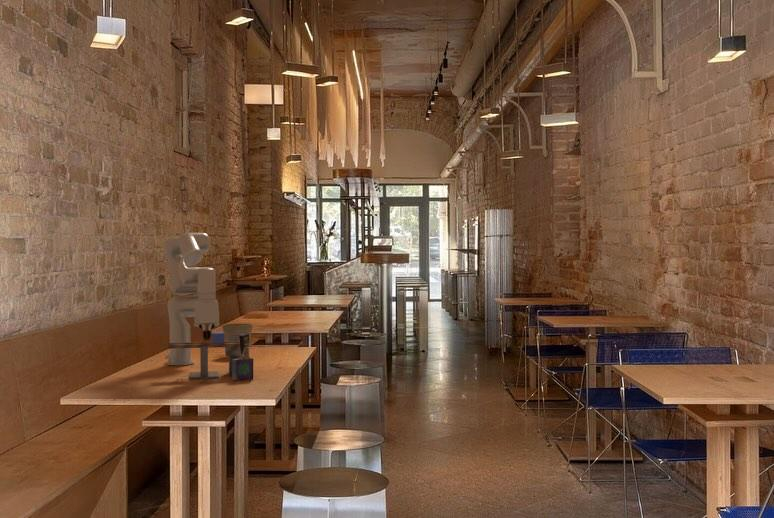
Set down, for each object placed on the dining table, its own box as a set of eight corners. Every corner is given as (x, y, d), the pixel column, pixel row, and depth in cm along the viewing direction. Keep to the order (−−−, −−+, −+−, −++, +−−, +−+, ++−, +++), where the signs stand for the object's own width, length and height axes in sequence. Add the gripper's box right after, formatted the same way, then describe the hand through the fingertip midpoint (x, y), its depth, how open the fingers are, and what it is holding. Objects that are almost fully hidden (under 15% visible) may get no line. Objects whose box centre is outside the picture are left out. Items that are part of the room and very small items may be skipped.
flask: (233, 381, 346) (233, 355, 346) (230, 380, 349) (230, 354, 348) (254, 379, 351) (254, 354, 351) (251, 378, 353) (251, 353, 353)
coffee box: (242, 372, 371) (242, 335, 370) (228, 371, 372) (228, 335, 372) (249, 369, 380) (249, 333, 379) (236, 368, 381) (236, 333, 381)
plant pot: (258, 355, 426) (258, 324, 425) (239, 358, 413) (238, 326, 412) (236, 353, 433) (235, 322, 433) (216, 356, 420) (216, 325, 420)
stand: (189, 379, 350) (189, 347, 350) (189, 374, 364) (189, 343, 364) (237, 378, 355) (236, 345, 354) (235, 373, 368) (235, 342, 368)
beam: (167, 358, 351) (167, 345, 351) (168, 355, 359) (167, 342, 359) (240, 356, 358) (240, 343, 358) (239, 353, 366) (239, 341, 365)
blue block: (212, 344, 356) (212, 333, 356) (212, 343, 361) (212, 332, 361) (224, 344, 358) (224, 333, 357) (223, 343, 362) (223, 332, 362)
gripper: (188, 297, 353) (188, 341, 353) (224, 297, 356) (225, 340, 356) (188, 296, 360) (189, 339, 360) (224, 296, 363) (224, 338, 364)
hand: (206, 339), depth 358 cm, fingers closed
